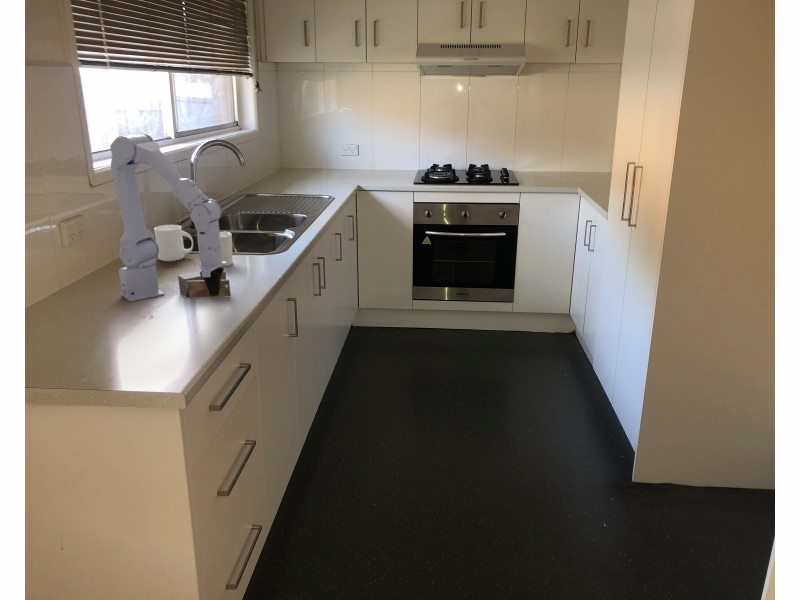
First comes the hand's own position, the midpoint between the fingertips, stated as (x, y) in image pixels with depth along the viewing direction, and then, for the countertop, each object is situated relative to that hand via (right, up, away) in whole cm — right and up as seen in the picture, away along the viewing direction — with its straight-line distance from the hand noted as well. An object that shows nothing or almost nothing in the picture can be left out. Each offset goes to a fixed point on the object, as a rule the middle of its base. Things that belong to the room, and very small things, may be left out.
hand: (214, 295), depth 173 cm
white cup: (-8, +10, +36) cm, 38 cm away
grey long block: (-6, +1, +9) cm, 11 cm away
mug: (-26, +13, +43) cm, 52 cm away
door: (-3, -1, +3) cm, 4 cm away
